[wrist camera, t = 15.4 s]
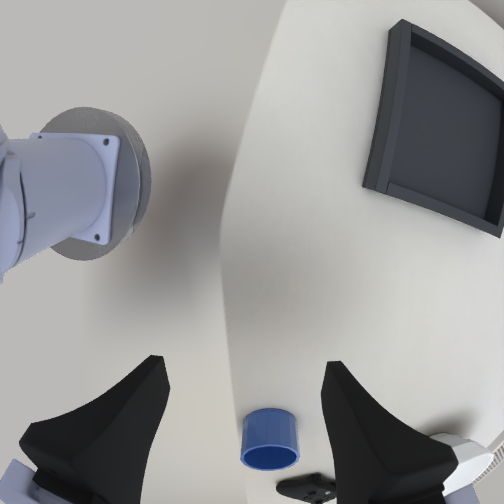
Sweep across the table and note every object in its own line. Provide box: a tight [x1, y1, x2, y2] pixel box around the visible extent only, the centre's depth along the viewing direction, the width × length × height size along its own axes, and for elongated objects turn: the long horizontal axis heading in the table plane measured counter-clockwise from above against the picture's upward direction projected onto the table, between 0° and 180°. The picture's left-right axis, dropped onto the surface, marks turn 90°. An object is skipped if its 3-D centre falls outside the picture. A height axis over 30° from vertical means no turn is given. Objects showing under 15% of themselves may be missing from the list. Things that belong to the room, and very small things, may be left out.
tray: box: [362, 19, 504, 238], centre depth 15 cm, size 13×13×2 cm
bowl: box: [429, 433, 494, 496], centre depth 25 cm, size 19×20×8 cm
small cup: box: [240, 409, 300, 471], centre depth 23 cm, size 5×5×4 cm
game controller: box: [276, 474, 337, 504], centre depth 29 cm, size 10×5×6 cm
